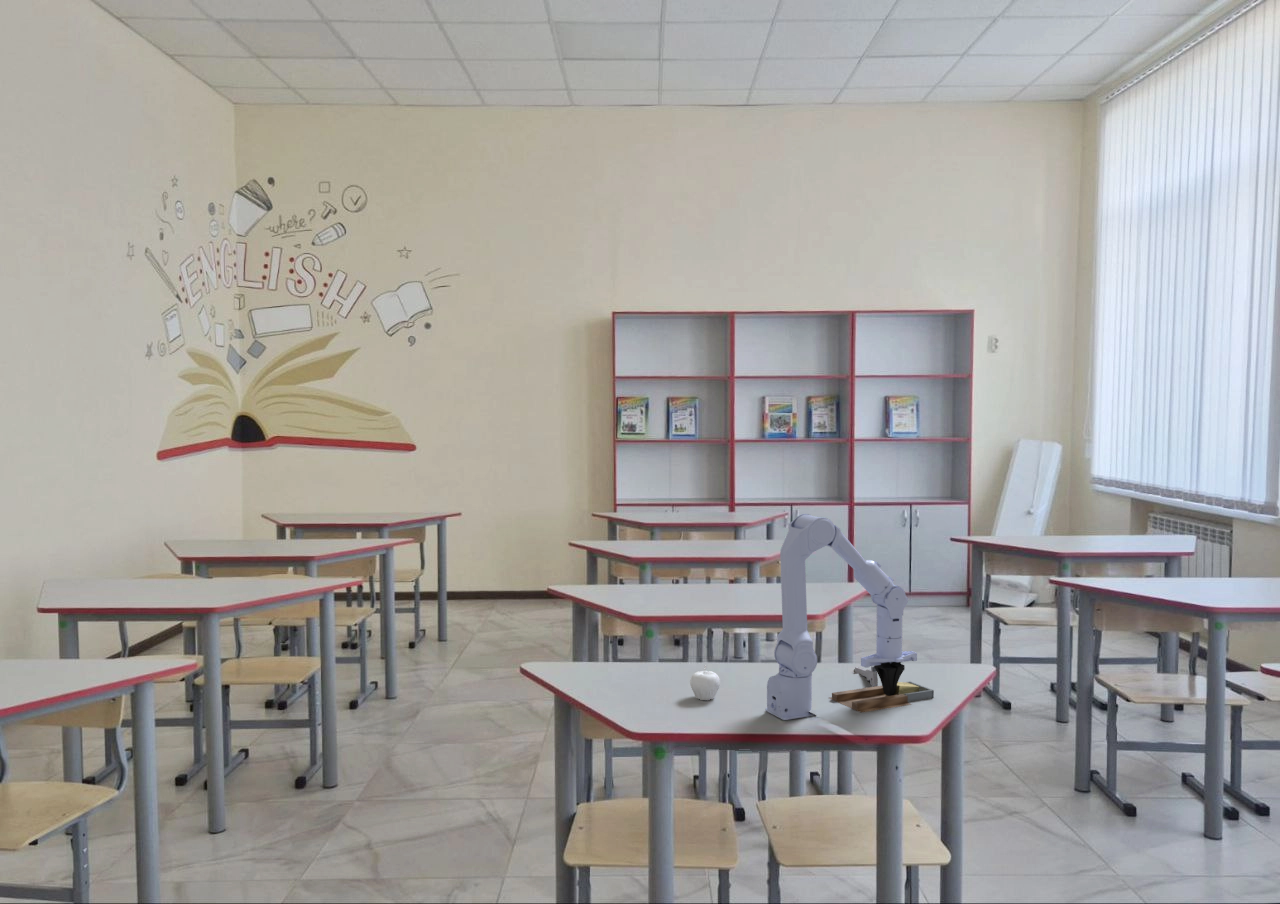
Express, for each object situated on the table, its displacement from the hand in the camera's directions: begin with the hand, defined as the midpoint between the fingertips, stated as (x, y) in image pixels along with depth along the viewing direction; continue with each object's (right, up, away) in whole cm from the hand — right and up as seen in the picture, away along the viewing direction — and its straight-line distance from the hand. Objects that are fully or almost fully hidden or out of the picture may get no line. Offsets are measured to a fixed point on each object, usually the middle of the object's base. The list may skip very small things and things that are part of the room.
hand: (889, 694), depth 214 cm
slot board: (-5, -2, -2) cm, 6 cm away
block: (+3, -1, +2) cm, 4 cm away
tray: (+5, -2, +2) cm, 6 cm away
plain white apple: (-42, -2, +4) cm, 42 cm away
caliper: (-1, -2, +18) cm, 18 cm away
